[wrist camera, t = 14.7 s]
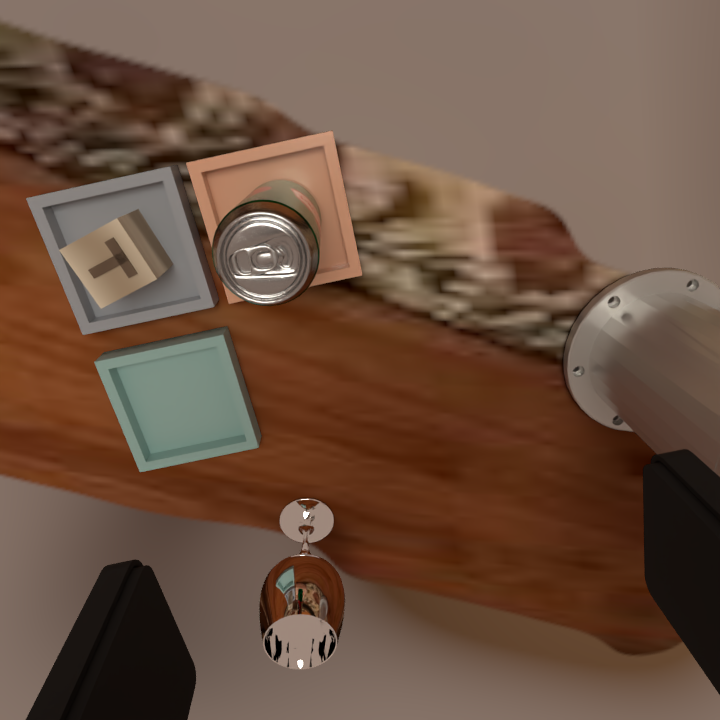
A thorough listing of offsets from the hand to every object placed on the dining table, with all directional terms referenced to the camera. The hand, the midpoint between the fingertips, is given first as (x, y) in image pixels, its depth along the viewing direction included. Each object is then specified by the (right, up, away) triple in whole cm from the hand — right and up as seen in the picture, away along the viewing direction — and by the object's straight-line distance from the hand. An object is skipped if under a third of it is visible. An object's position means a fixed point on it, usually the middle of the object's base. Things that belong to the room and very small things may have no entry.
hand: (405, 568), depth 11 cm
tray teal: (-14, +1, +31) cm, 34 cm away
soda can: (-6, +13, +27) cm, 30 cm away
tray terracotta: (-6, +13, +27) cm, 31 cm away
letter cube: (-16, +11, +27) cm, 33 cm away
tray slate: (-16, +11, +27) cm, 34 cm away
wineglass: (-5, -9, +36) cm, 38 cm away
